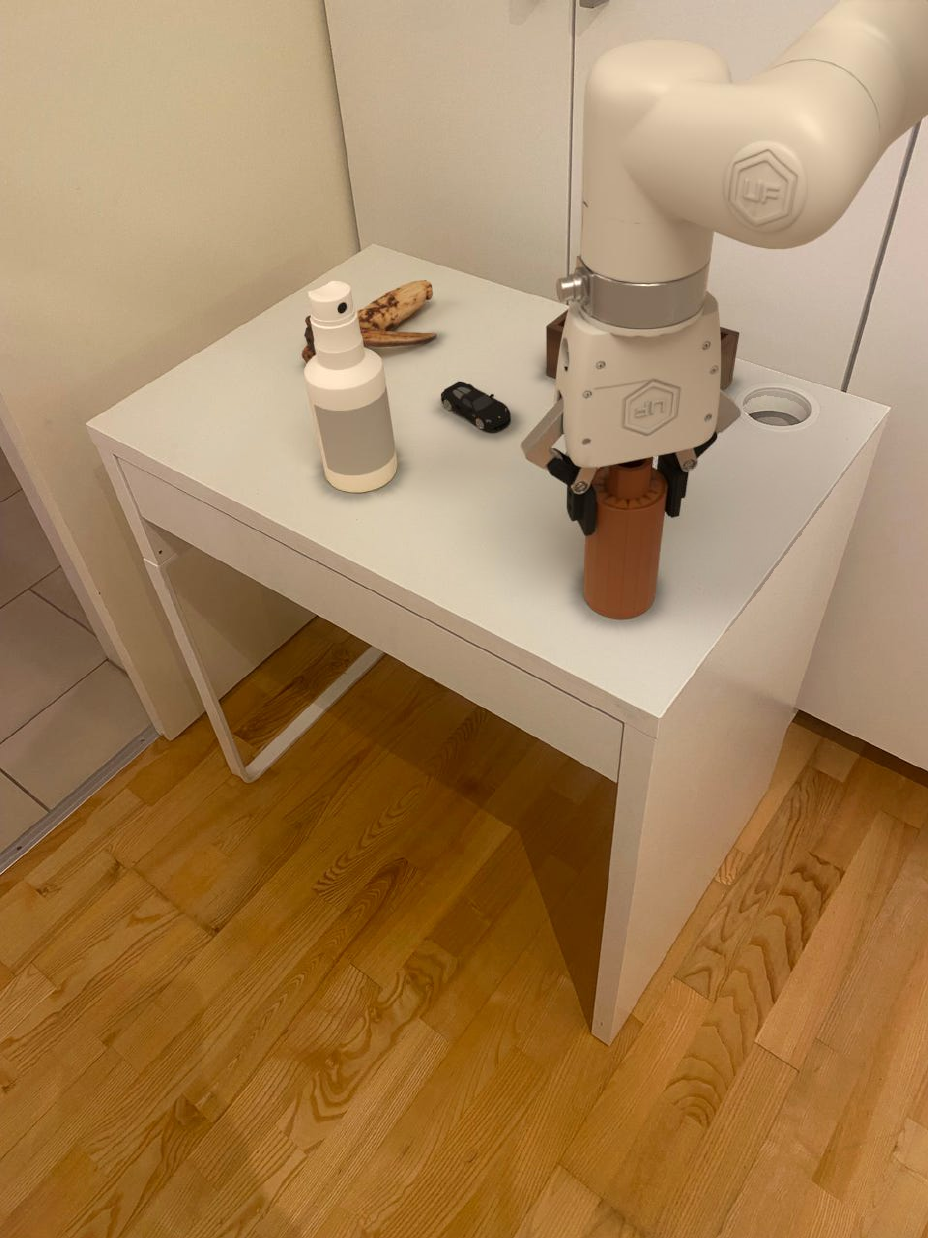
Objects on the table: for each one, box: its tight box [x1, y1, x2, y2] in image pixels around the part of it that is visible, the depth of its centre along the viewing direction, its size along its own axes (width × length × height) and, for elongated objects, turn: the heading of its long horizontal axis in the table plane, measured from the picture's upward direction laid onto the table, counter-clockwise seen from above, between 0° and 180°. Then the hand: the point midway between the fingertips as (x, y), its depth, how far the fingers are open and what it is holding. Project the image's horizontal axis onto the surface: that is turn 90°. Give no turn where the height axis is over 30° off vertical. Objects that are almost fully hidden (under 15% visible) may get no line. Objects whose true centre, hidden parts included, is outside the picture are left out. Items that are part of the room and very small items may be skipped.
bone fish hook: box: [301, 279, 438, 364], centre depth 103 cm, size 9×5×18 cm
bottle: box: [582, 457, 668, 620], centre depth 71 cm, size 6×6×14 cm
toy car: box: [440, 380, 512, 432], centre depth 93 cm, size 8×4×2 cm, turn 42°
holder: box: [545, 309, 740, 392], centre depth 94 cm, size 9×16×6 cm, turn 52°
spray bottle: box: [303, 280, 399, 493], centre depth 82 cm, size 7×7×18 cm
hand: (625, 512), depth 70 cm, fingers closed on bottle, 5 cm apart
